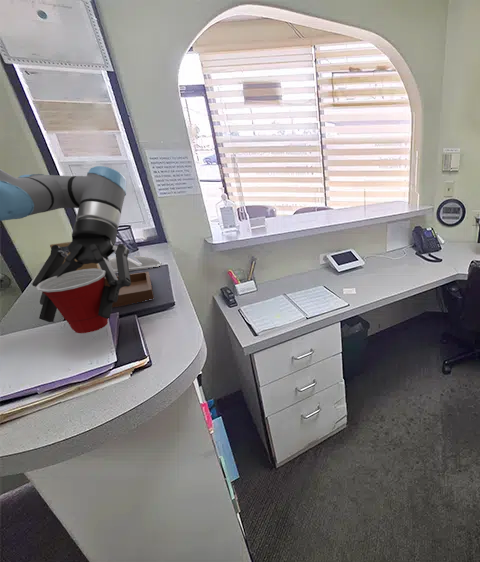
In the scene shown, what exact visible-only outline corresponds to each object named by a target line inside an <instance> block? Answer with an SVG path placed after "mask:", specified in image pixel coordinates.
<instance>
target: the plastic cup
mask: <svg viewBox="0 0 480 562" xmlns="http://www.w3.org/2000/svg"><path fill="white" fill-rule="evenodd" d="M105 274H106V271H104V270H102V269H95V268H94V269H83V270H77V271H72V272H68V273H65V274H62V275H61V276H59V277H57V276H54V277H51V278H49V279H46V280H44V281H43V282H41V283H39V284H38V285H37V286H36V287H35V288H36V289H37V291H39V292H41V293H42V292H43V293H44V294H46V296H48V297H49V299H50V300H51V301H52V302H53V303H54V305H55V306H56V308H57V310H58V312H59V314H61V316H62V317H63V319H64V320H65V321H66V322H67V324H68V325H69V327H70V328H71V329H72V330H73V331H74V333H76V334H88V333H89V334H90V333H93V332H96V331H99V330H101V329H103V328H105V327H106V326H107V325H108V324H109V318H107V319H105V318H103V317H101V316H99V315H98V312H99V308H100V303H101V298H102V293H103V288H104V286H105V278H106V277H105Z"/></svg>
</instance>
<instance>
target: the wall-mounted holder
mask: <svg viewBox="0 0 480 562" xmlns="http://www.w3.org/2000/svg"><path fill="white" fill-rule="evenodd" d="M133 257H134V258H135V259H136V260H137V261H136V260H135V259H132V258H130V257H127V259H128V266H129V272H130V271H141V270H148V268H150V269H154V268H153V267H158V268H160V267H161V265H162V261H160V260H157V259H155V258H154V257H149V256H144V255H133ZM108 259H109V261H110V263H111V266H112V268H113V270H114V272H115V273H118V269H117V262H116V256H115V257H112V258H108ZM98 266H99V269H101V267H100V265H99V264H98ZM159 266H160V267H159Z"/></svg>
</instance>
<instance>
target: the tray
mask: <svg viewBox="0 0 480 562" xmlns="http://www.w3.org/2000/svg"><path fill="white" fill-rule="evenodd" d="M116 276H117V278H118V280H119V277H118V275H116ZM130 280H131V285H130V286H128V287H127V286H124V287H122V288H120V290H119V295H118V300H117V302H113V304H112V309H114V308H118V307H125V306H129V305H133V304H132V303H135V304H138V303H137V302H140V303H143V302H142V301H145V300H149V299H153V298H154V299H155V296H154V290H153V286H152V285H151V284H152V280H151V275H150V273H149V271H142V272H141V271H140V272H135V273H130ZM107 283H108V281H107V279H106V277H105V286H109V287H110V285H109V284H107ZM152 290H153V291H152ZM145 302H146V301H145ZM128 304H129V305H128Z"/></svg>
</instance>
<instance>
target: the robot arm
mask: <svg viewBox="0 0 480 562" xmlns="http://www.w3.org/2000/svg"><path fill="white" fill-rule="evenodd" d="M126 196H127V179H126V177H125V176H124V175H123V174H122V173H121V172H120V171H117V170H116V169H114V168H111V167H109V166H104V165H96V166H93V167H90V168H89V170H88V172H86V175H59V174H58V175H55V174H43V173H36V174H35V173H31V174H21V175H19V176H18V177H16V176H13V175H11V174H10V173H8V172H7V171H4V170H3V169H1V168H0V222H2V221H10V220H20V219H23V218H26V217H29V216H33V215H36V214H37V215H38V214H41V213H47V212H50V211H55V210H59V209H78V210H77V213H76V215H75V216H76V217H75V222H74V224H73V229H72V232H71V241H70V242H71V243H70V244H69V245H68V246H65V247H59V246H58V245H53V246H52V247H50V254H49V256H48V257H47V259H46V260H45V262H44V264H43V265H42V267H41V269H40V270H39V271H38V273H37V275H36V276H35V278H34V279H33V282H32V283H31V285H32V286H33V287H35V288H36V286H37V285H38V284H39V283H41V282H43V281H44V280H46V279H49V278H51V277H54V276H57V277H59V276H61V275H62V274H65V273H68V272H72V271H76V270H77V269H78V268H81V267H82V266H83V265H84V264H89V263H95V264H99V265H100V267H101V269H102V270H104V271H106V274H105V278H106V279H107V281H108V283H107V284H109V285H110V287H109V286H104V288H103V293H102V298H101V303H100V308H99V312H98V315H99V316H101V317H103V318H105V319H107V318H108V319H111V314H112V309H113V308H112V304H113V302H117V300H118V295H119V290H120V288H122V287H124V286H127V287H128V286H130V285H131V280H130V274H131V272H130V271H129V266H128V259H127V257H128V256H129V254H130V249H129V248H128V247H127V246H126V245H125V244H123V243H119V244H117V245H116V241H117V236H118V230H119V226H120V223H121V221H120V220H121V217H122V210H123V207H124V203H125V197H126ZM69 252H70V254H69V255H67V254H68V253H69ZM113 253H114V254H115V257H116V262H117V269H118V272H117V274H116V272H114V270H113V268H112V266H111V263H110V261H109V259H110V258H109V257H110V256H111V255H112V254H113ZM65 257H66V258H65ZM128 258H129V257H128ZM74 259H76V260H77V262H76V261H75V260H74ZM64 260H65V262H64ZM63 262H64V263H63ZM117 276H118V277H119V280H118V278H117ZM39 305H42V306H41V310H40V312H39V317H38V319H39V320H42V321H45V322H47V323H54V322H55V318H56V315H57V314H56V313H57V310H58V309H57V308H56V306H55V305H54V303H53V302H52V301H51V300H50V299H49V297H48V296H46V294H44V293H43V292H41V295H40V299H39Z"/></svg>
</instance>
